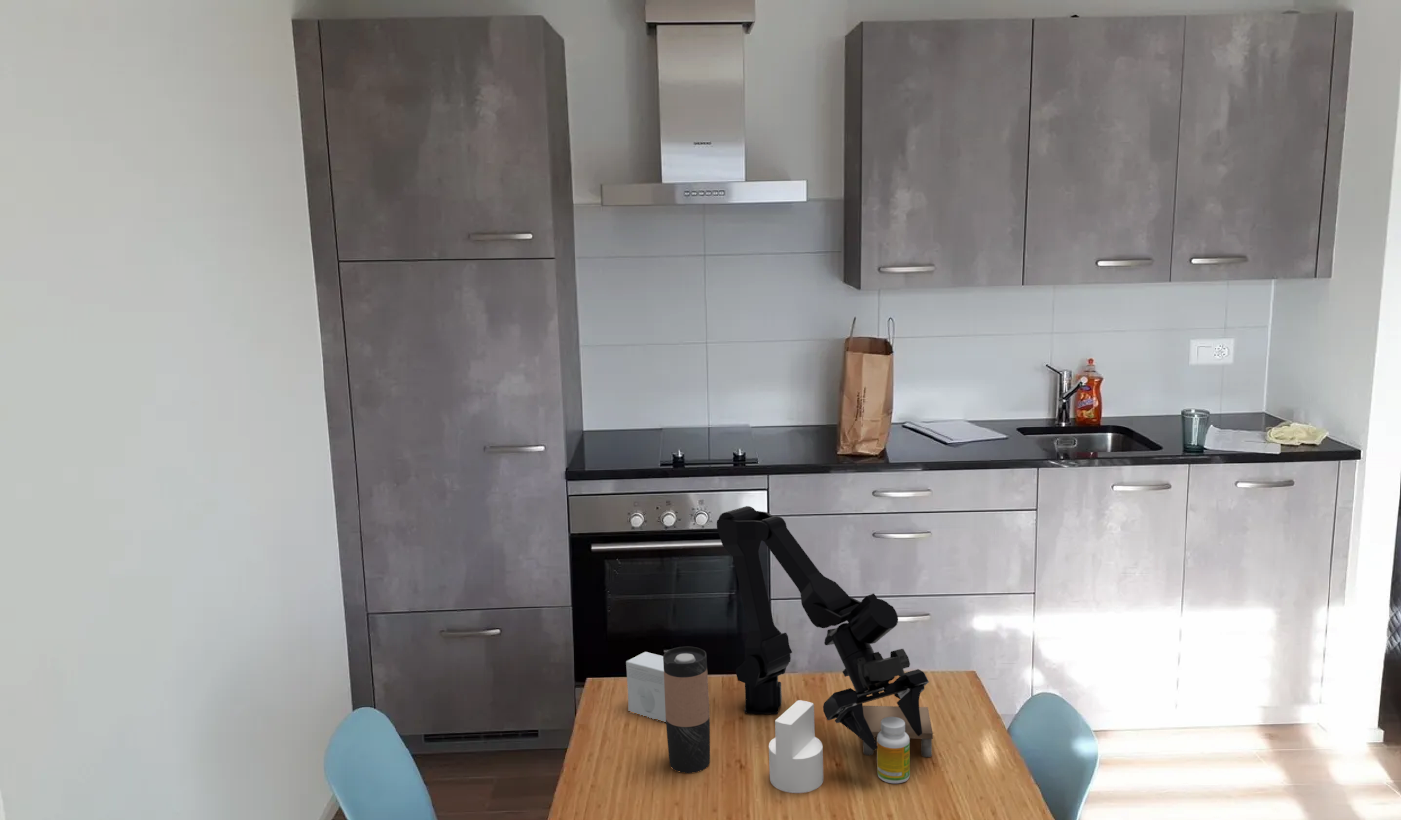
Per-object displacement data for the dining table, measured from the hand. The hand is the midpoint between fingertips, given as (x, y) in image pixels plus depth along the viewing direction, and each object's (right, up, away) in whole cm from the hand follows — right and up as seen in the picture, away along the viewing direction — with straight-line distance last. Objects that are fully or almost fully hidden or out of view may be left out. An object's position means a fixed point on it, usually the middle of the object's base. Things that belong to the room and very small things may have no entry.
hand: (898, 742), depth 167 cm
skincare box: (-41, -4, +29) cm, 50 cm away
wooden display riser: (+2, -5, +13) cm, 14 cm away
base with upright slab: (-17, -7, +3) cm, 18 cm away
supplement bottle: (0, -7, +2) cm, 7 cm away
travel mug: (-35, -7, +9) cm, 37 cm away
